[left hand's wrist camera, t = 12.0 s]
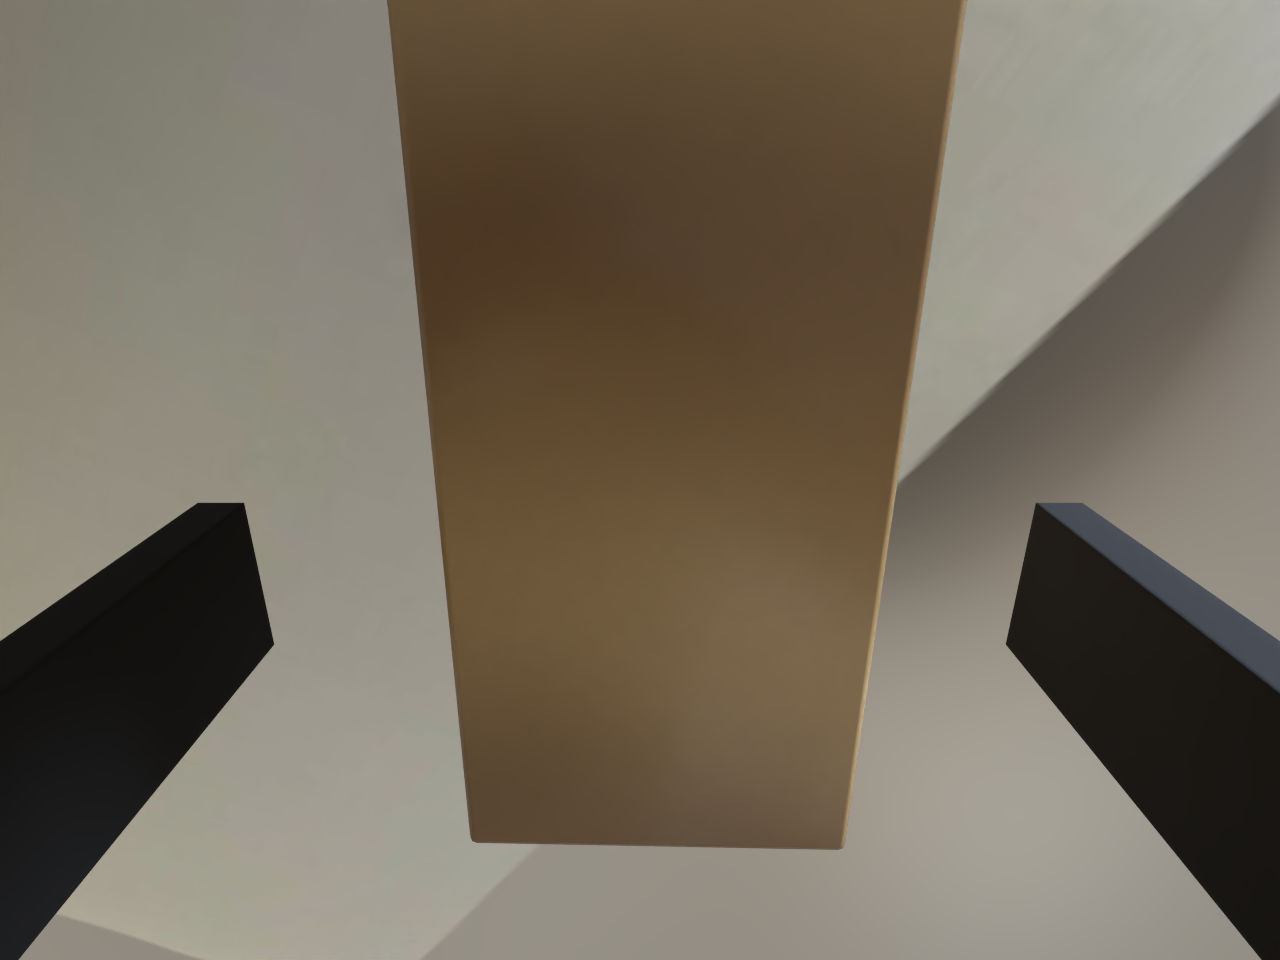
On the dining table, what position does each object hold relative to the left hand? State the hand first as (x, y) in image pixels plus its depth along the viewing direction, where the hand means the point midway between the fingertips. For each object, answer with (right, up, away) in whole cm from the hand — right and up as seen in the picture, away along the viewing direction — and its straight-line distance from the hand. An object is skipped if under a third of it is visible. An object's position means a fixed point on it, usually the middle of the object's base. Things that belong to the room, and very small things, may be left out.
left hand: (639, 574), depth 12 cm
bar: (0, +11, +1) cm, 11 cm away
